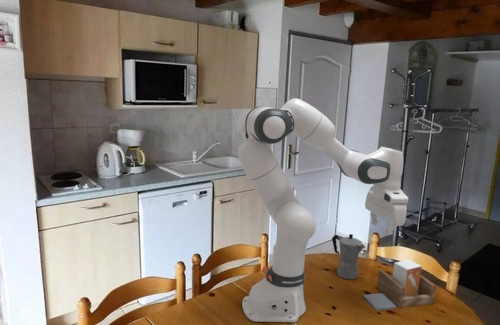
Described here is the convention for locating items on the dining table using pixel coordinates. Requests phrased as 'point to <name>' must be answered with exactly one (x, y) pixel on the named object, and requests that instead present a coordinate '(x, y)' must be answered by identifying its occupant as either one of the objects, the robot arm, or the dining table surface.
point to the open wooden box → (397, 291)
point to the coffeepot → (348, 255)
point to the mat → (379, 301)
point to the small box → (407, 276)
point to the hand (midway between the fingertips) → (381, 228)
